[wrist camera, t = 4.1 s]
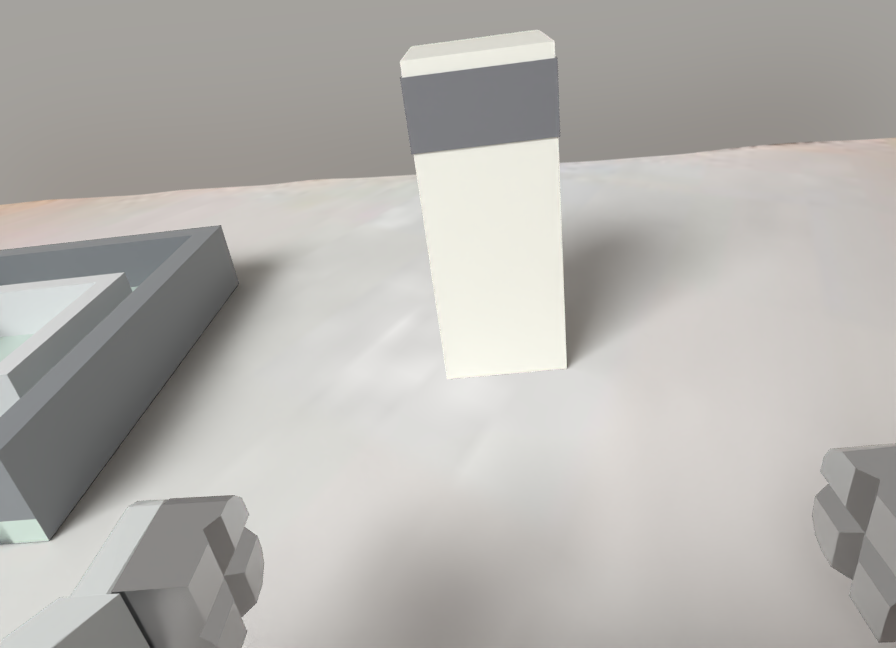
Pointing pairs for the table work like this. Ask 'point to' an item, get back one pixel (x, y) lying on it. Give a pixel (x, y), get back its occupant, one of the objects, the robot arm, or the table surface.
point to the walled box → (91, 356)
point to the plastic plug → (490, 198)
